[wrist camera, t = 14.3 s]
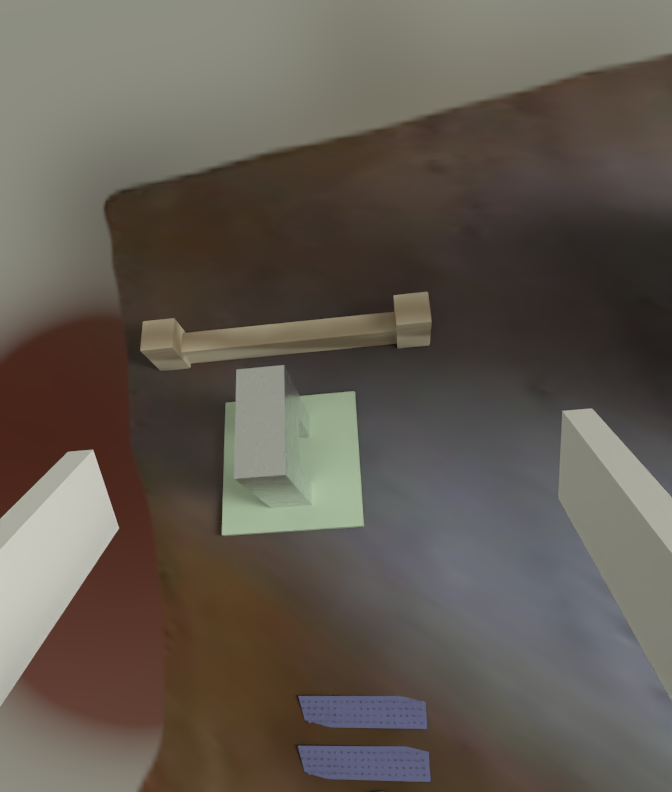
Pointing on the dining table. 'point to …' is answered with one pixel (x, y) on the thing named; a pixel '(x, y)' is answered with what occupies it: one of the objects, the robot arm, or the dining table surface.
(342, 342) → the rail stand
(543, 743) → the dining table surface
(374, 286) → the dining table surface
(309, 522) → the pad
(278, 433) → the tall grey upright block
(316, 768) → the signage
